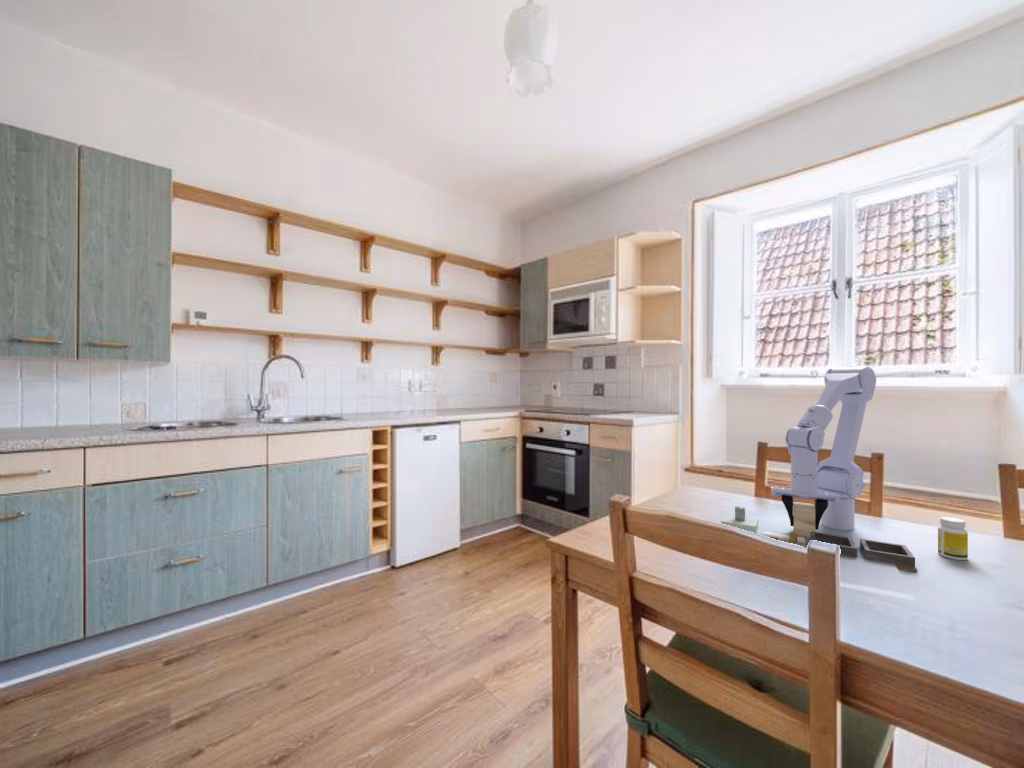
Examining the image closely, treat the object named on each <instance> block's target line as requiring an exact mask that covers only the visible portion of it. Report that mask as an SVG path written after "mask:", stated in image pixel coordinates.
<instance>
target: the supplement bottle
mask: <svg viewBox="0 0 1024 768" xmlns="http://www.w3.org/2000/svg"><path fill="white" fill-rule="evenodd" d="M939 524H940V525H937V553H938V555H940V556H942V557H944V558H948V559H951V560H955V561H956V560H957V561H966V560H968V559H969V557H968V556H969V548H968V547H969V545H968V544H969V542H968V541H969V537H968V536H969V532H968V530H967V529H966V521H965V520H964V519H961V518H957V517H949V516H941V517H940V518H939Z"/></svg>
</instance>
